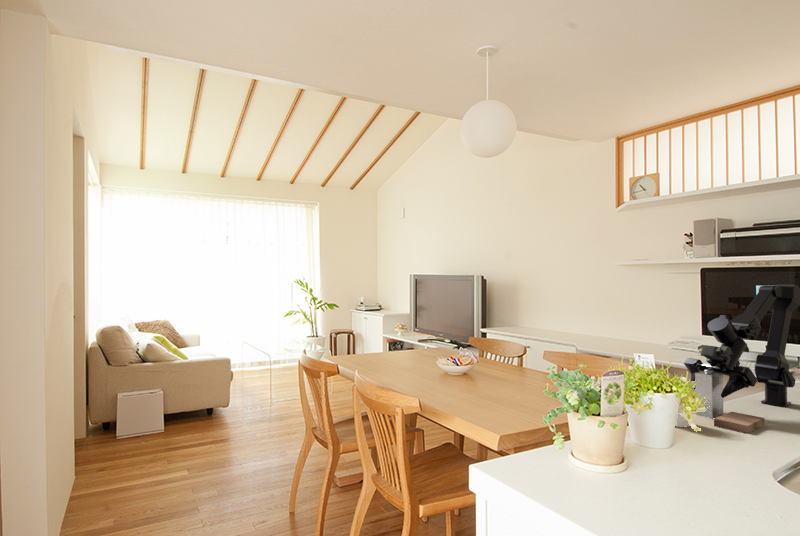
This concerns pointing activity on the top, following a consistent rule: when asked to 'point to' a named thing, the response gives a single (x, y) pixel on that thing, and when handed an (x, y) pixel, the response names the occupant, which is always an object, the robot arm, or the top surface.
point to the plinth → (739, 422)
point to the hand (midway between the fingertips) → (706, 393)
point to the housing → (710, 392)
